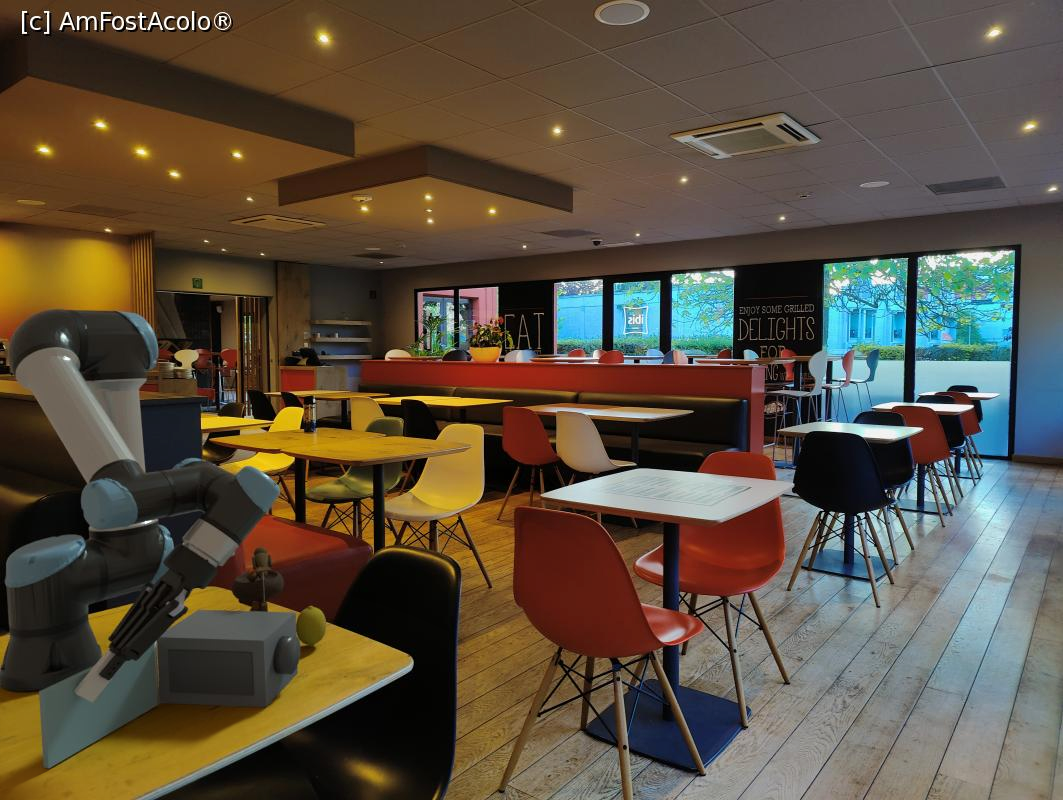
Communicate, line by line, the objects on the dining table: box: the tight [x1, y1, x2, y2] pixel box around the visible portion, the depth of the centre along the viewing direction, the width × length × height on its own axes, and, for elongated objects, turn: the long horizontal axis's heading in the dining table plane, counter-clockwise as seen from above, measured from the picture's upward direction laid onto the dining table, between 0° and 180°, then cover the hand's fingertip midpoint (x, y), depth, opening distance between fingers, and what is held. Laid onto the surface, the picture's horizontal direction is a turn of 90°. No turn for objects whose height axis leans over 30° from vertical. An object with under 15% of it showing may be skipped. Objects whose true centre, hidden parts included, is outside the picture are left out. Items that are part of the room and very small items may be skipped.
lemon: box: [296, 605, 327, 648], centre depth 136 cm, size 6×6×8 cm
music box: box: [231, 546, 285, 612], centre depth 135 cm, size 15×11×20 cm
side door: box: [38, 641, 160, 769], centre depth 105 cm, size 19×2×11 cm, turn 161°
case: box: [156, 609, 301, 708], centre depth 119 cm, size 20×12×11 cm, turn 85°
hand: (83, 696), depth 100 cm, fingers closed
